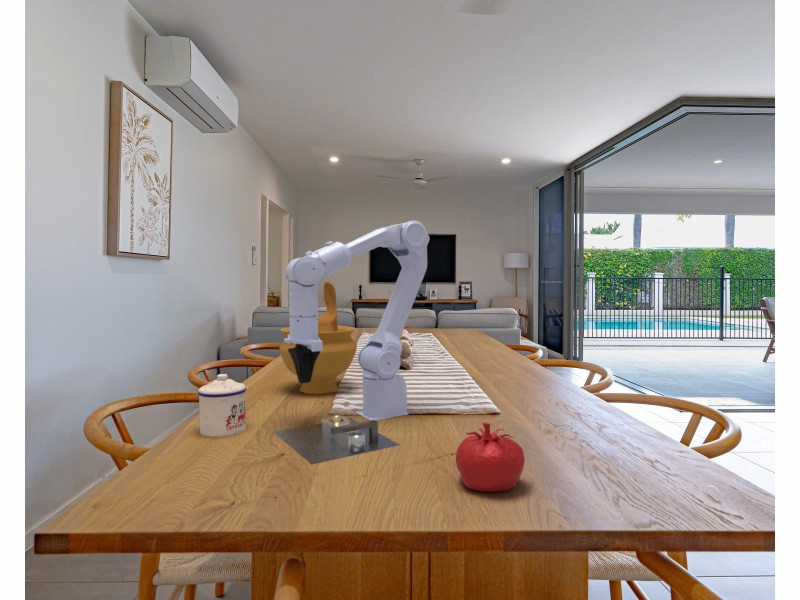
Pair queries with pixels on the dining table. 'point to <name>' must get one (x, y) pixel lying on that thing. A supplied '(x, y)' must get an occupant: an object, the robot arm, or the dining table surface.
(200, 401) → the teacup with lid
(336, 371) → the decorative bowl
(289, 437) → the base plate
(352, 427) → the bracket
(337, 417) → the peg
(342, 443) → the link
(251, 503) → the dining table surface
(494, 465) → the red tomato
